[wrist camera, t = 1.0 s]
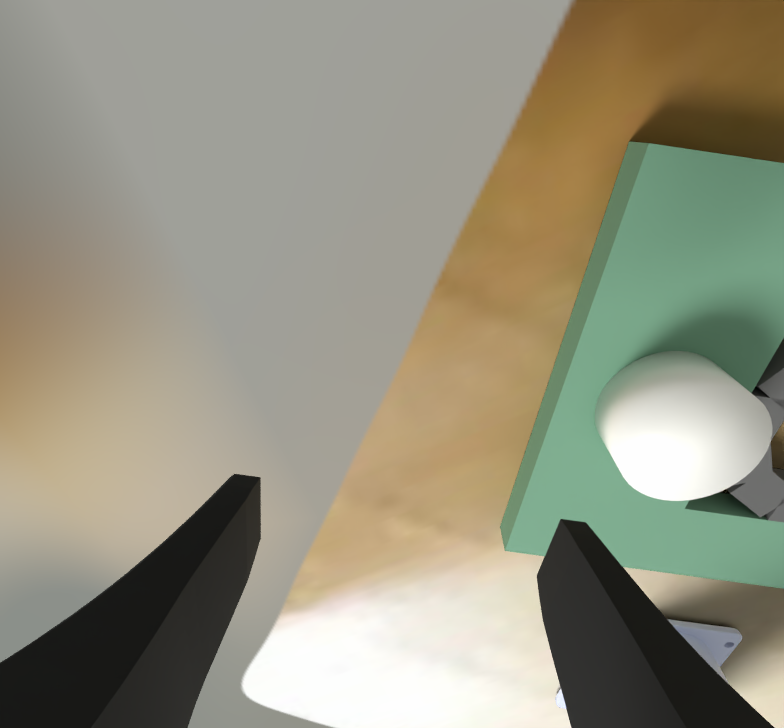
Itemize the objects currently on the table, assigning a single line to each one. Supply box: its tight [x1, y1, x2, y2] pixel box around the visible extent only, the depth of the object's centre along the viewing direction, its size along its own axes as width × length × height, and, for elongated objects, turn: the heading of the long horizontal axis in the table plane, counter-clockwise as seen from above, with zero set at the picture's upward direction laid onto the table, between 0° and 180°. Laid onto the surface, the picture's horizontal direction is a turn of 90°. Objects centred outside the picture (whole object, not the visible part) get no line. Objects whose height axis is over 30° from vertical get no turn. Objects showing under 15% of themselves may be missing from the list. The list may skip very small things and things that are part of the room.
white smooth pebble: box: [595, 351, 772, 501], centre depth 17 cm, size 5×5×2 cm
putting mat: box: [500, 141, 784, 589], centre depth 19 cm, size 18×18×2 cm
